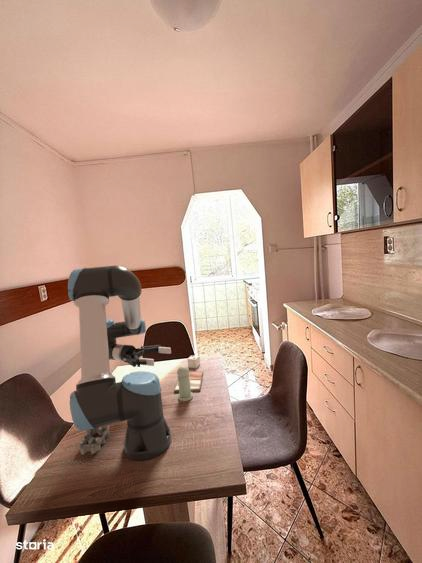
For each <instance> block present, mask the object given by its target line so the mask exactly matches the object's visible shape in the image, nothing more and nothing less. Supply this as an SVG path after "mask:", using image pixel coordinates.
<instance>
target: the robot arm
mask: <svg viewBox="0 0 422 563" xmlns="http://www.w3.org/2000/svg"><path fill="white" fill-rule="evenodd" d="M67 282H68V283H67V290H68V291H67V294H68V298H69V300H70V301H72V302H73V304H74V306H75V307H76V308H78V312H79V313H78V314H79V315H78V317H79V319H78V320H79V344H80V345H79V348H80V351H79V352H80V373H81V374H80V375H81V376H80V379H79V380H78V382H76V384H75V390H74V391H72V392H71V393H70V394H69V410H70V415H71V420H72V423H73V425H74V427H75V428H76V430H78V431H80V432H84V431H87V430H90V429H96V428H102V427H103V426H104V427H106V426H111V425H113V424H114V425H115V424H117V423H118V424H119V423H122V422H125V421H126V425H127V427H126V431H125V436H124V440H123V447H124V448H123V449H124V453H125V455H126V456H127V457H128V458H130V460H131V459H132V460H134V461H146V460H151V459H153V458H156V457H158V456H159V455H161V454H162V453H164V452H165V451H166V450H167V449H168V448H169V446H170V445H171V442H172V432H171V428H170V426H169V424H168V422H167V420H166V418H165V416H164V408H163V401H162V400H163V399H162V386H161V382H160V379H159V377H158V375H157V374H155V373H153V372H150V371H144V370H143V371H141V370H140V371H133V372H130V373H129V374H128V373H127V374H125V375H124V376H122V379H121V381H119V382H116V376H115V375H114V374H112V373H111V368H110V366H111V365H110V360H111V361H113V360H114V361H118V362H123V363H126V364H128V365H130V366H131V367H133V368H135V367H137V368H140V367H141V366H151V367H155V359H154V358H146V357H145V356H146V355H150V354H155V353H159V354H169V355H170V354H172V349H171V347H166V346H161V344H154V345H145V346H144V345H142V346H140V347H139V348H136V347H135V345H131V344H123V343H122V344H119V343H118V342H117V339H119V338H125V337H132V336H139V335H142V334H143V335H144V334H146V332H147V329H146V328H147V327H146V321H145V319H144V318H142V315H141V304H140V303H141V301H140V299H141V298H140V297H141V294H142V285H141V282H140V280H139V277H137V276H136V275H135V273H133V272H132V271H131V270H129V269H128V268H127V267H124V266H121V265H106V266H105V265H104V266H96V267H95V266H94V267H83V268H76V269H73V270H72V271H71V272H70V274H69V276H68V280H67ZM111 297H118V298H119V299H120V302H121V309H122V313H123V319H124V321H120V322H119V321H118V322H115V319H112V318H107V312H106V306H107V305H108V304H109V303H110V298H111ZM144 357H145V358H144Z"/></svg>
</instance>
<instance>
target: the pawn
mask: <svg viewBox="0 0 422 563" xmlns="http://www.w3.org/2000/svg"><path fill="white" fill-rule="evenodd" d="M189 372H190V369H189V368H188V366H187V365H180V366H179V367H178V368H177V370H176V373H177V374H176V375H177V381H178V384H179V393H178V396H177V398H178V399H177V400H178V401H179V402H184V403H185V402H190V401H191V400H192V399H193V398H194V392H191V387H190V377H189Z"/></svg>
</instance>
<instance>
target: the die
mask: <svg viewBox="0 0 422 563" xmlns="http://www.w3.org/2000/svg"><path fill="white" fill-rule="evenodd" d="M199 366H201V359H200V355H190V356H189V357H188V358H187V367H188V369H189V368H190V369H197V368H198V367H199Z"/></svg>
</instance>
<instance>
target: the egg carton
mask: <svg viewBox="0 0 422 563" xmlns="http://www.w3.org/2000/svg"><path fill="white" fill-rule="evenodd" d="M110 426H111V425H107V426H103V427H99V428H96V429H90V430H86V433H85V434H84V436H83V437H82V439H81V440H80V441H79V443H78V446H77V447H76V448H78V449H79V453H80V455H85V454H86V453H88V452H90V453H91V455H93V454H95V453H98V452H100V451H101V449H102V448H101V445H103V444H105V442H106V438H108V437H109V436H110V431H109V429H110ZM96 434H98V435H99V436H98V437H93V436H95V435H96ZM100 436H101V437H100Z"/></svg>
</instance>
